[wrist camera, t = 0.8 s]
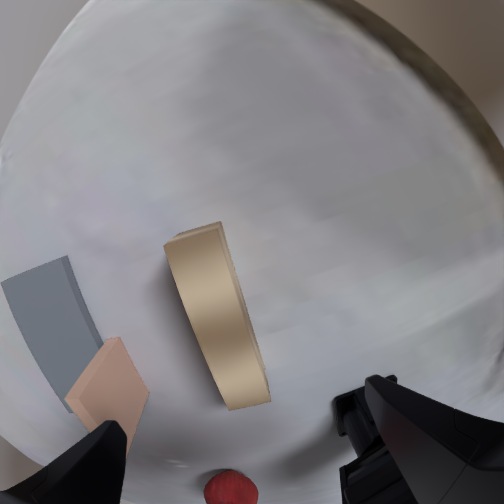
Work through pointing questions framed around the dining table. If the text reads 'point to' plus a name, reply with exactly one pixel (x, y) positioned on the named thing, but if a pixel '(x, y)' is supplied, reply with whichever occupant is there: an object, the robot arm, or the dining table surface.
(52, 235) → the dining table surface
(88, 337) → the mat
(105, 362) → the tile
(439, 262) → the dining table surface
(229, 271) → the curved wooden plank
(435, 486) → the robot arm
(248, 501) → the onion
